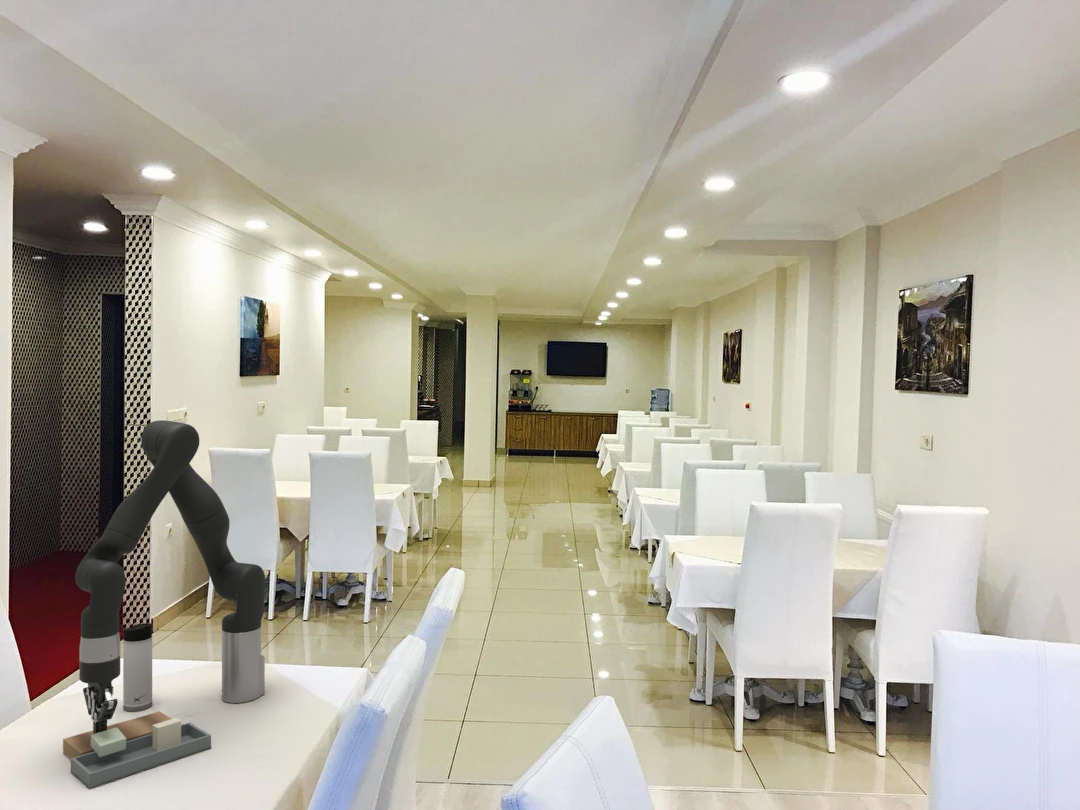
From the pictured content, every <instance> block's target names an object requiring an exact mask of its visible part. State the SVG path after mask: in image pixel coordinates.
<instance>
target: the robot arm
mask: <svg viewBox="0 0 1080 810" xmlns="http://www.w3.org/2000/svg"><path fill="white" fill-rule="evenodd" d="M140 437H141V439H140V443H141V447H142V450H143V452H144V454H145V456H146V458H147V459H148V460H149V462H150V464H151V465H152V466H153V468H152V470H151V471H150V472H149V474H148V475H147V476H146V478H145V479H144V480H143V481H142V482H141V483H140V484H139V485H138V486H137V487H136V488H135V489H134V490H133V491H132V492H131V493H130V494H129V495H127V496H126V497H125V498H124V499H123V501H122V502H121V503H120V504H119V505H118V507H117V508H116V509H115V511H114V513H113V514H112V517H111V519H110V520H109V522H108V524H107V526H106V528H105V529H104V531H103V534H102V536H100V538H99V539H98V540H97V541H96V542H94V544H93V545H92V547H91V548H90V549H89V550H88V552H87V553H86V554H85V555H84V556H83V558H82V560H81V561H80V563H79V564H78V566H77V569H76V572H75V577H74V580H75V583H76V586H77V587H78V588H79V589H81V590H82V591H84V592H88V593H90V600H89V605H88V606H86V607H85V608H84V609H83V610H82V612H81V614H80V615H81V617H80V642H79V661H78V663H79V664H78V665H79V668H78V669H79V674H78V675H79V681H80V682H81V683H84V684H87V687H83V690H82V692H83V696H84V701H85V705H86V709H87V714H88V715H89V716H90V718H91V721H92V731H93V734H96V733H99V732H102V731H106V730H107V726H108V720H111V719H113V717H114V714H115V712H116V709H117V705H119V703H118V702H119V701H118V699H117V698H113V696H114V686H113V683H112V681H114V680H115V679H118V677H119V676H120V675H121V638H120V613H119V612H120V610H121V605H122V603H123V599H124V595H125V590H126V583H127V582H126V574H125V571H124V568H123V567H122V566H121V565H120V564H119V563H118V562H119V560H120V559H121V558H122V557H123V556H124V555H126V554H130V553H132V552H134V551H135V549H136V547H137V546H138V544H139V542H140V540H141V539H142V536H143V534H144V533H145V531H146V528H147V526H148V525H149V523H150V521H151V519H152V517H153V516H154V514H155V512H156V511H157V509H158V507H159V506H160V505H161V503H162V501H164V499H165V497H166V496H167V494H168V493H169V495H170V497H171V499H172V500H173V502H174V504H175V506H176V507H177V510H178V511H179V513H180V516H181V518H182V520H183V522H184V524H185V526H186V528H187V530H188V531H189V534H190V535H191V537H192V539H193V541H194V542H195V545H196V547H197V549H198V551H199V553H200V555H201V557H202V559H203V562H204V563H205V567H206V569H207V572H208V575H209V577H210V580H211V583H212V586H213V588H214V590H215V592H216V594H217V595H218V596H219V597H220V598H222V599H225V600H229V601H236V610H235V612H232V613H229V614H227V615H225V616H224V617H223V618H222V620H221V699H222V701H223V702H226V703H230V704H239V703H247V702H250V701H254V700H256V699H258V698H260V697H261V696H264V695H265V694H266V692H265V691H266V690H265V689H266V688H265V687H266V685H265V684H266V683H265V681H266V680H265V677H266V674H265V671H266V667H265V665H266V664H265V663H266V661H265V659H266V657H265V656H264V655H262V621H263V620H262V619H263V616H264V612H265V604H266V603H265V601H266V583H267V582H266V581H267V580H266V576H265V575H266V574H265V572H264V569H263V568H262V567H261V566H260V565H258V564H254V563H246V562H245V563H244V562H238V561H237V560H236V559H234V557H233V555H232V552H231V551H230V548H229V547H228V537H229V531H230V516H229V514H228V513H227V510H226V508H225V505H224V503H223V502H222V499H221V498H220V496H219V494H217V492H216V490H215V489H214V488H213V487H212V486H211V485H210V484H208V483H207V481H206V480H204V478H202V476H200V475H199V473H197V471H196V469H194V468H193V467H192V465H191V462H192V460H193V459H194V457H195V456H196V454H197V452H198V449H199V446H200V436H199V432H198V430H197V429H196V428H195V427H194V426H192V425H190V423H189V424H188V423H184V422H177V421H170V420H165V419H164V420H161V419H159V420H154V421H152V422H149V423H148V424H147V425H145V427H144V429H143V431H142V433H141V435H140Z"/></svg>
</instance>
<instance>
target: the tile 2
mask: <svg viewBox="0 0 1080 810" xmlns="http://www.w3.org/2000/svg"><path fill="white" fill-rule="evenodd" d="M181 725H182V720H180V719H179V718H177V717H174V718H171V719H170V720H167V721H164V722H161V723H158V724H154V725H152V731H153V749H154V750H156V751H160V750H163V749H166V748H169V747H172V746H176V745H179V744H181Z"/></svg>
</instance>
